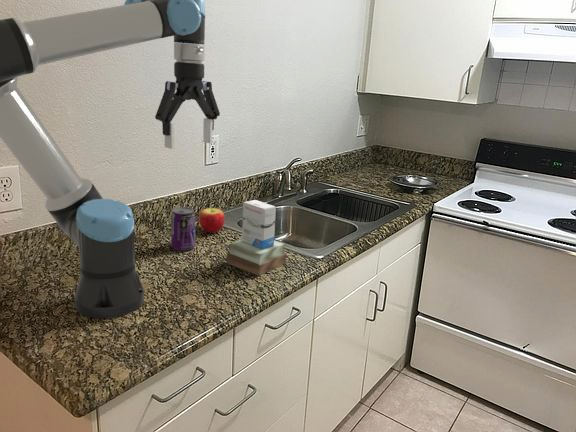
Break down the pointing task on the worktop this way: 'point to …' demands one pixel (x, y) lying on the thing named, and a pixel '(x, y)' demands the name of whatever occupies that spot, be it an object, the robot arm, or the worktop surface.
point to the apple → (211, 219)
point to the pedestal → (256, 257)
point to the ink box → (258, 224)
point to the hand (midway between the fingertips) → (189, 145)
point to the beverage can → (183, 228)
